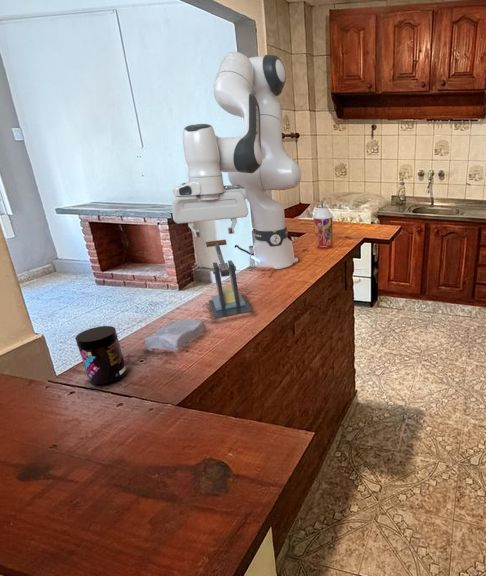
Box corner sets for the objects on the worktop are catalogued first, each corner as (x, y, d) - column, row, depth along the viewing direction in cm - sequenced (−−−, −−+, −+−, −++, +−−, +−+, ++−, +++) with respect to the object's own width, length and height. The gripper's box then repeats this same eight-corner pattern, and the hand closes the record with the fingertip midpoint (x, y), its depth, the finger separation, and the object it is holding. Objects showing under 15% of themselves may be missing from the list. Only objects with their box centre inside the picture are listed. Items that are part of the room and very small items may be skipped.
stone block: (144, 358, 92) (179, 354, 90) (136, 339, 91) (172, 335, 88) (177, 336, 103) (210, 332, 101) (171, 319, 102) (204, 314, 99)
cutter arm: (206, 246, 117) (205, 239, 115) (225, 243, 119) (225, 237, 117) (215, 278, 108) (214, 271, 106) (236, 274, 110) (235, 268, 109)
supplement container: (97, 371, 84) (84, 327, 81) (132, 367, 86) (120, 324, 82) (83, 390, 78) (68, 343, 74) (121, 385, 79) (107, 339, 76)
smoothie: (335, 248, 172) (333, 202, 165) (316, 250, 171) (312, 203, 163) (332, 244, 180) (330, 199, 173) (314, 245, 178) (311, 200, 171)
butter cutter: (209, 304, 117) (201, 259, 112) (243, 298, 121) (237, 254, 117) (215, 322, 106) (206, 273, 101) (253, 315, 110) (247, 267, 105)
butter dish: (211, 298, 118) (209, 286, 117) (239, 293, 121) (237, 282, 120) (216, 310, 110) (214, 298, 108) (245, 305, 113) (243, 292, 112)
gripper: (243, 183, 118) (248, 229, 122) (167, 188, 109) (176, 237, 114) (247, 185, 112) (253, 233, 117) (167, 190, 104) (177, 241, 109)
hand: (214, 235), depth 116 cm, fingers open, 8 cm apart
